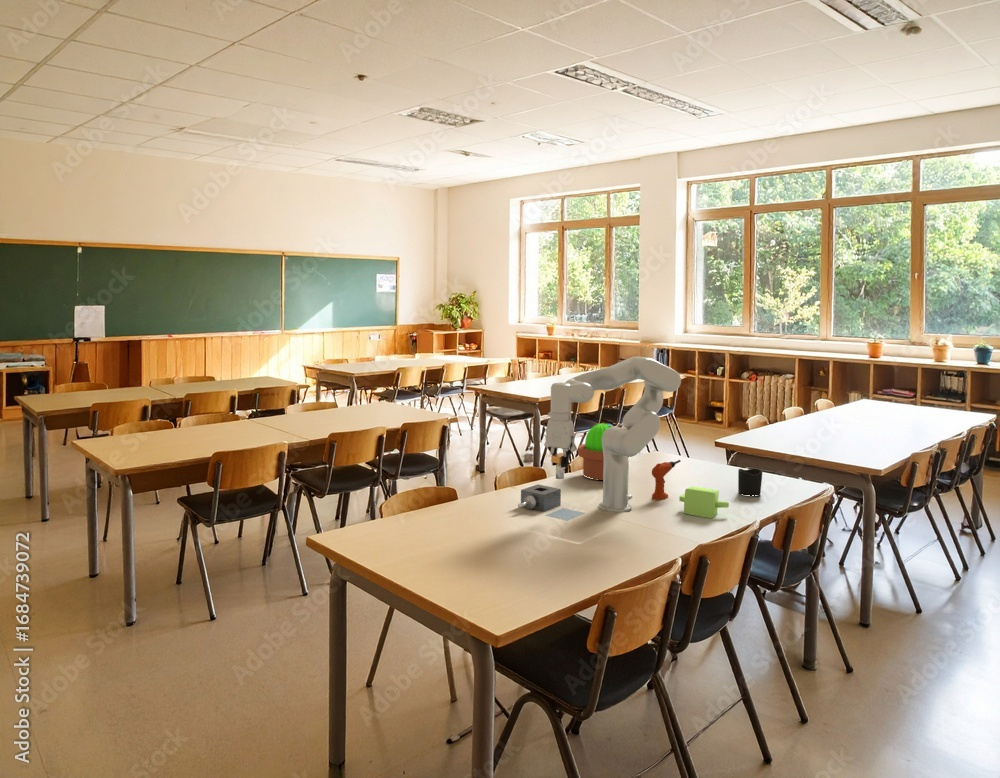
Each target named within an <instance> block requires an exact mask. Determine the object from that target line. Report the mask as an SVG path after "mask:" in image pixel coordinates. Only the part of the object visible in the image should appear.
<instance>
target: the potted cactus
mask: <svg viewBox="0 0 1000 778" xmlns="http://www.w3.org/2000/svg"><path fill="white" fill-rule="evenodd" d="M610 427H615V426H614V425H612V424H611V423H605V422H602V423H597V424H594V425H593V426H592V427H591V428H589V430H588V431H587V433H586V435H585V441H584V443H582V444H580V445H578V447H577V451H578V452H577V453H578V457H580V458H583V462H582V464H583V469H582V475H583V474H584V475H585V476H587V477H590V478H593V479H598V480H603V469H604V455H603V448H602V436H603V433H604V432H605V430H607V429H608V428H610Z"/></svg>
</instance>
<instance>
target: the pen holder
mask: <svg viewBox="0 0 1000 778" xmlns="http://www.w3.org/2000/svg"><path fill="white" fill-rule="evenodd" d="M737 472H738V475H737V476H738V479H737V480H738V481H737V482H738V485H737V486H738V494H739V495H740V494H743V495H750V496H752V495H754V496H755V495H759V496H760V495H761V492H762V491H761V490H762V483H763V482H762V481H763V470H761V469H758V468H750V469H743V468H738V471H737ZM743 495H742V496H743Z"/></svg>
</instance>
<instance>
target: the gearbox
mask: <svg viewBox="0 0 1000 778" xmlns="http://www.w3.org/2000/svg"><path fill="white" fill-rule="evenodd" d="M719 495H720V491H719V490H718V489H713V488H706V487H700V486H694V485H693V486H692V485H691V486H690V487H687V488H686V489H685V490H684V493H683V494H682V495H680V496H679V498H678V499H679V502H681V503H682V502H683V514H687V515H692V516H696V517H703V518H709V519H712V518H714V517H715V516H716V515H717V514H718V509H720V508H723V509H724V508H726V509H727V508H729V506H730V504H729V502H728V501H719Z"/></svg>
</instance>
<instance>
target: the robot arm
mask: <svg viewBox="0 0 1000 778" xmlns="http://www.w3.org/2000/svg"><path fill="white" fill-rule="evenodd" d="M636 380H640V381H641V380H642V381H644V382H643V384H644V389H643V394H642V396H641V397H640V398H639V400H637V401H636V403H635V404H634V405H633V406H631V408H630V409H629V410H628V411H627V412H626V413H625V414H624V415H623V418H622V425H623V426H624V428H622V427H620V426H619V427H618V426H614V427H610V428H608V429H607V430H605V432H604V433H603V436H602V448H603V455H604V469H603V481H602V502H599V503H598V509H600V510H603V511H606V512H611V513H623V512H624V513H626V512H627V513H628V512H630V511H631V510H632V509H633V508H632V505H631V504H630V503H629V500H631V499H632V498H633V496H632V494H629V468H630V466H629V465H630V464H629V457H631V458H632V457H634V456H636V455H638V454H639V453H641V451H643V449H645V447H646V446H647V445H648V444H649V443H650V442H651V441H652V440H653V438H655V436H656V435H657V434H658V432H659V431H660V428H661V419H660V416H659V415H658V413H659V411H660V410H661V409H662V407H663V404H664V392H667V393H672V392H676V391H677V390H678V389H679V388H680V386H681V384H682V378H681V374H680V373H679V372H678V371H677V370H675V369H673V368H671V367H670V366H667V365H665V364H663V363H661V362H659V361H657V360H656V359H653V358H651V357H644V356H632V357H629V358H627V359H624V360H622V361H619V362H617V363H615V364H613V365H610V366H608V367H604V368H600V369H596V370H593V371H589V372H584V373H581V374H580V375H577V376H576V375H575V376H574V377H572V378H570V379H568V380H566V381H565V382H553V383H552V384H551V386H550V411H549V412H547V413H548V414H547V416H549V419H548V421H547V424H546V431H545V442H544V445H543V446H544V447H545V448H546V449H547V450H548V451H549V453H550V456H552V455H555V454H558V449H561V450H562V453H563V457H562V467H564V468H566V467H568V466H569V461H568V459H569V460H570V455H571V454H572V453H573V452H575V451H578V447H577V445H576V444H575V427H574V423H573V420H572V403H578V404H583V403H584V404H585V403H588V402H590V401H591V400H592V399H593V398H594V395H595V391H608V390H614V389H617V388H620V387H622V386H624V385H625V386H626V384H629V383H632V382H634V381H636ZM551 465H552V466H553V467H555V466H556V463H553V462H551Z"/></svg>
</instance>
